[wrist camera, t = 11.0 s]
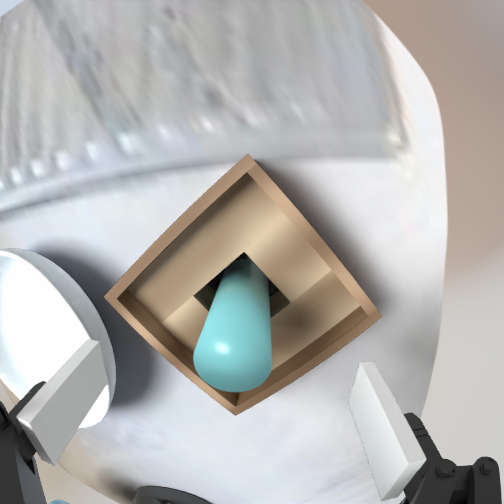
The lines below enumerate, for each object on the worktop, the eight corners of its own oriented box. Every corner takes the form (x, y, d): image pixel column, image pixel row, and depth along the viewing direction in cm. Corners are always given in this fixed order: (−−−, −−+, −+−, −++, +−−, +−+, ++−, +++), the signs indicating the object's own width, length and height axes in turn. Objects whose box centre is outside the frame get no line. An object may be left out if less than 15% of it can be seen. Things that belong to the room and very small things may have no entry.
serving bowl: (44, 194, 24) (-2, 202, 18) (173, 348, 28) (153, 391, 21) (-12, 300, 28) (-43, 319, 22) (82, 411, 32) (62, 443, 25)
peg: (266, 303, 26) (268, 394, 15) (221, 300, 26) (194, 388, 15) (270, 260, 25) (275, 332, 14) (223, 257, 25) (192, 326, 14)
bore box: (359, 286, 26) (382, 316, 20) (240, 374, 28) (235, 415, 23) (251, 158, 23) (247, 153, 17) (133, 272, 26) (103, 296, 20)
